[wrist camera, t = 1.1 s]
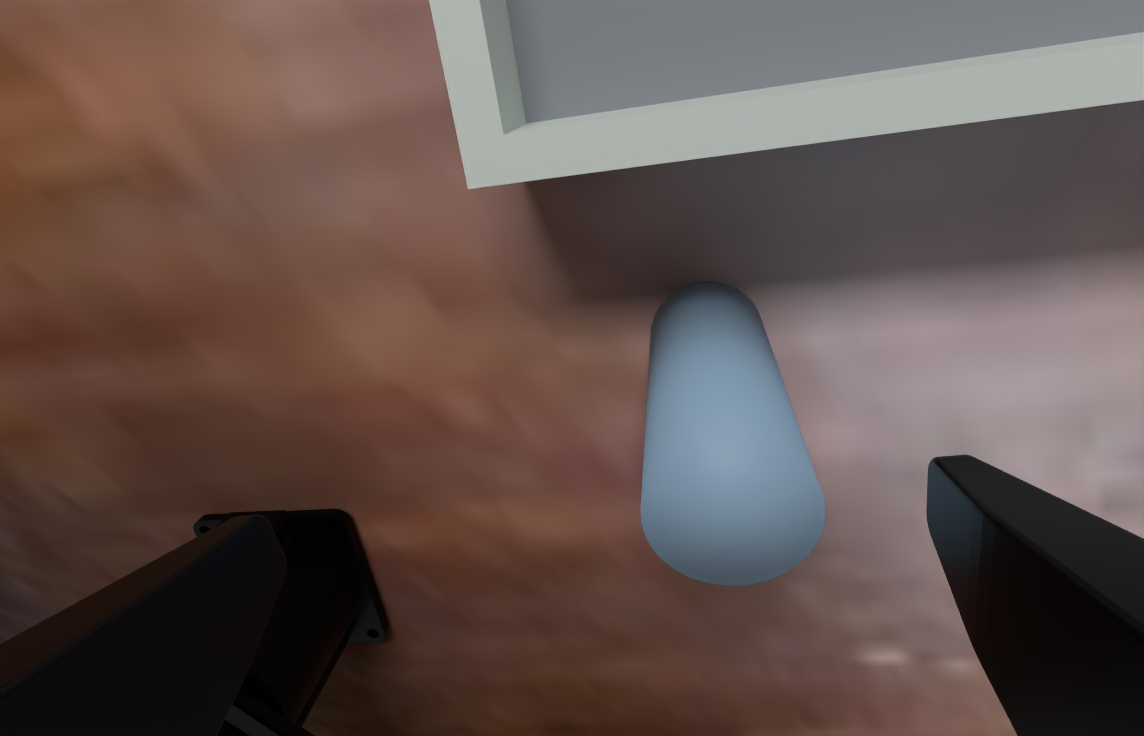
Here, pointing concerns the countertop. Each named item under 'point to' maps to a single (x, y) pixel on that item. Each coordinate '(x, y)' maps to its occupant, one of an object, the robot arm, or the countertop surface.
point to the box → (759, 74)
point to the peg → (723, 446)
